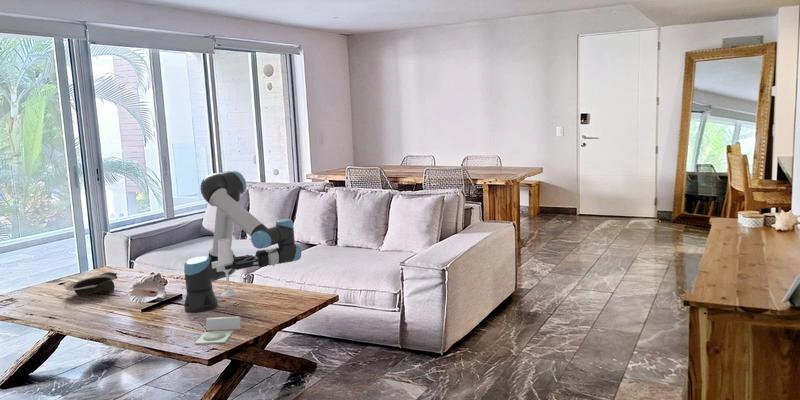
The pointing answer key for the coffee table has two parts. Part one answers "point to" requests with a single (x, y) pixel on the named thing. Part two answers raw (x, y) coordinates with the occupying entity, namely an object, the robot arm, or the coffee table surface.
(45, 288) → the coffee table surface
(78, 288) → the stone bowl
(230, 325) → the low wall
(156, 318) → the coffee table surface
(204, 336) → the resting pad
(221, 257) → the champagne flute
